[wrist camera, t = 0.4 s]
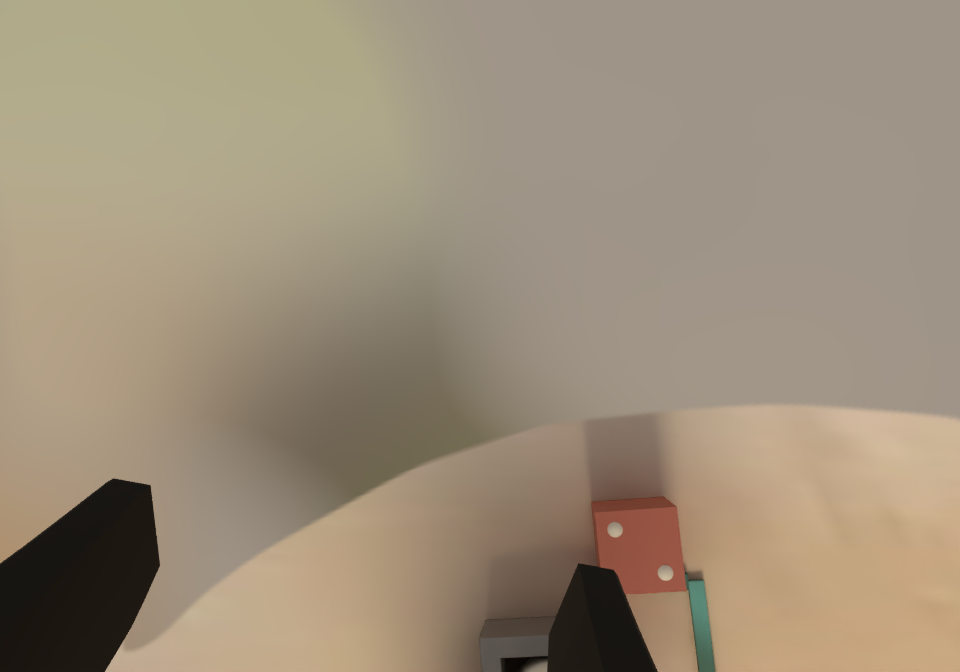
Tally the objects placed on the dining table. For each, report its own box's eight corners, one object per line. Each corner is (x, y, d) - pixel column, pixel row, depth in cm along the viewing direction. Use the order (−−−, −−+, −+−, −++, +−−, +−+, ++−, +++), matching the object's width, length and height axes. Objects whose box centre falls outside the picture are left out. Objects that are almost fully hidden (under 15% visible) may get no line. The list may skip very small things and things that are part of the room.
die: (672, 571, 36) (687, 592, 31) (598, 575, 36) (603, 596, 32) (663, 496, 36) (677, 507, 32) (591, 501, 36) (595, 513, 32)
